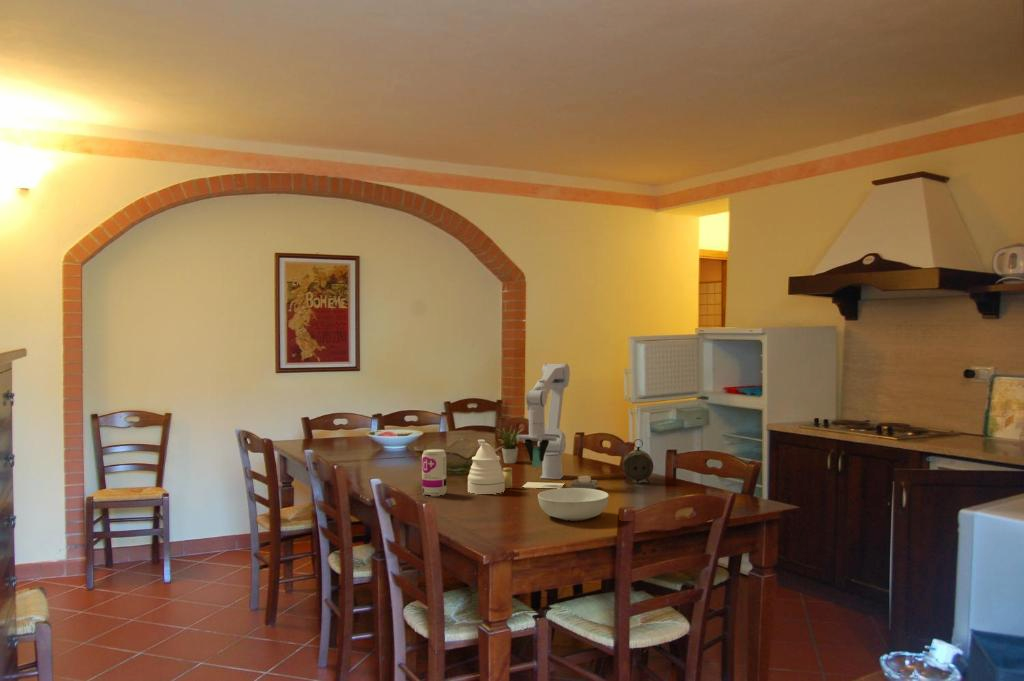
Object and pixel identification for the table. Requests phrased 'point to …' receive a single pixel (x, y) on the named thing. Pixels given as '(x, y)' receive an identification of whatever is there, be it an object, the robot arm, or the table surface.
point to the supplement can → (434, 472)
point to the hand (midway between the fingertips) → (536, 460)
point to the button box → (585, 484)
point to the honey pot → (486, 472)
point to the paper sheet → (543, 485)
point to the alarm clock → (638, 465)
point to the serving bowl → (573, 503)
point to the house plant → (509, 446)
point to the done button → (584, 479)
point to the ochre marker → (507, 477)
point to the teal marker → (536, 456)
